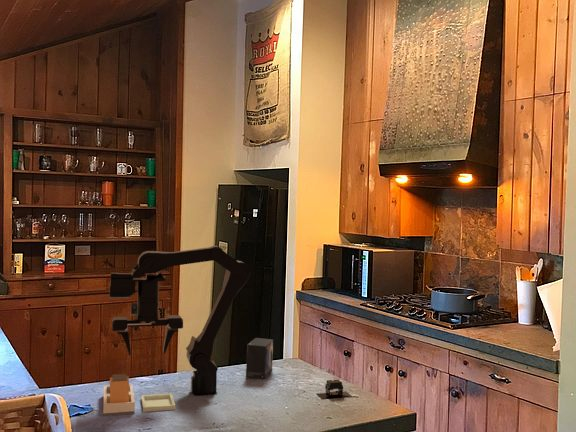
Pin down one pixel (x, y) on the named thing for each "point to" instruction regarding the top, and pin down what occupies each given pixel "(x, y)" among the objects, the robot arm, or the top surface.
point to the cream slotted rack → (118, 404)
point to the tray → (158, 402)
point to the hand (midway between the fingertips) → (147, 354)
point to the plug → (119, 388)
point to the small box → (259, 358)
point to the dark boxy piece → (334, 394)
